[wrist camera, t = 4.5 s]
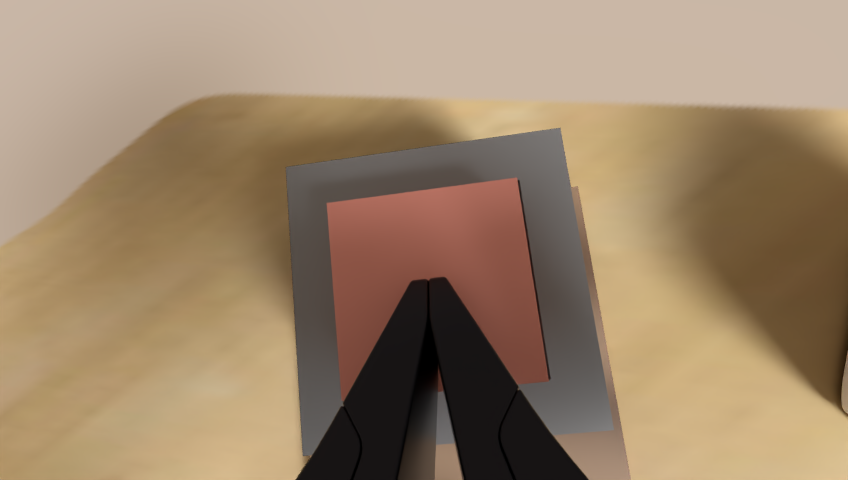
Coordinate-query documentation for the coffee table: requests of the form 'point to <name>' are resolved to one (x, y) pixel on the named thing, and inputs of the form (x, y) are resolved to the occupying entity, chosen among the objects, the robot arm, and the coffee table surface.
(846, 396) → the photo printer
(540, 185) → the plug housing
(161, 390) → the coffee table surface
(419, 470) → the robot arm
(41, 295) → the coffee table surface
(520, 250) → the plug
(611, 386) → the board
